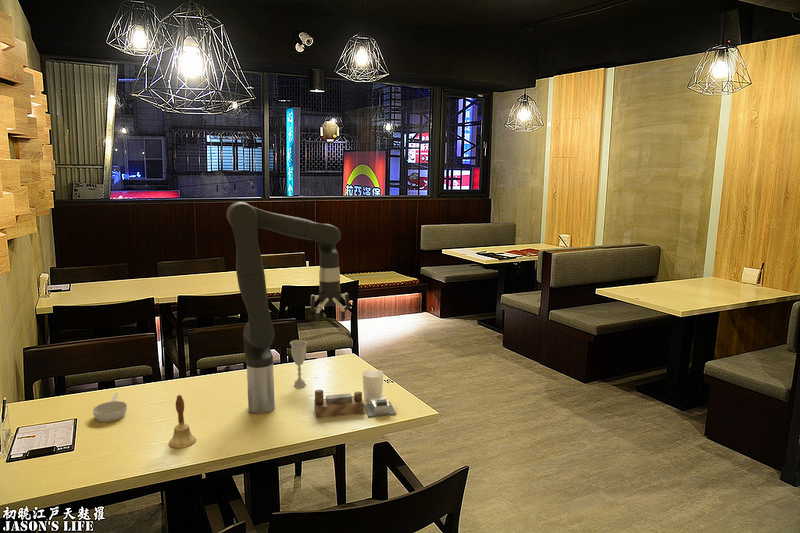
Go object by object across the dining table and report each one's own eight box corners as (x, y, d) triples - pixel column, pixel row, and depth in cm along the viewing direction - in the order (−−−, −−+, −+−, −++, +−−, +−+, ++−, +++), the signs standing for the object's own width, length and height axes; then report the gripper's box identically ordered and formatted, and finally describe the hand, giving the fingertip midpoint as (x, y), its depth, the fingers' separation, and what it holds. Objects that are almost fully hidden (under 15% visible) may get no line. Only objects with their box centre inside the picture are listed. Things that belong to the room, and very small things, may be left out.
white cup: (382, 402, 217) (382, 377, 216) (361, 402, 218) (361, 377, 216) (383, 394, 225) (383, 369, 223) (363, 393, 225) (363, 369, 224)
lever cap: (369, 404, 214) (369, 393, 214) (384, 402, 216) (384, 392, 215) (374, 414, 206) (374, 403, 205) (389, 413, 207) (389, 402, 206)
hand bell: (200, 442, 187) (197, 395, 184) (175, 451, 181) (171, 403, 178) (189, 433, 193) (186, 388, 190) (164, 441, 187) (160, 395, 184)
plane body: (316, 418, 204) (315, 395, 202) (314, 410, 211) (313, 387, 209) (364, 413, 208) (363, 391, 206) (360, 405, 215) (360, 383, 213)
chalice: (290, 383, 236) (288, 340, 232) (307, 381, 238) (305, 339, 234) (292, 389, 229) (291, 346, 226) (309, 387, 231) (308, 344, 228)
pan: (90, 425, 198) (89, 414, 198) (101, 404, 215) (100, 394, 215) (124, 421, 201) (123, 411, 201) (132, 400, 218) (132, 391, 218)
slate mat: (368, 417, 205) (368, 415, 205) (363, 405, 214) (363, 404, 214) (396, 414, 207) (396, 413, 207) (390, 403, 217) (390, 401, 217)
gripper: (347, 276, 218) (347, 317, 221) (309, 277, 215) (310, 320, 218) (350, 280, 211) (351, 323, 214) (310, 281, 208) (312, 325, 211)
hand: (330, 321), depth 216 cm, fingers open, 8 cm apart
